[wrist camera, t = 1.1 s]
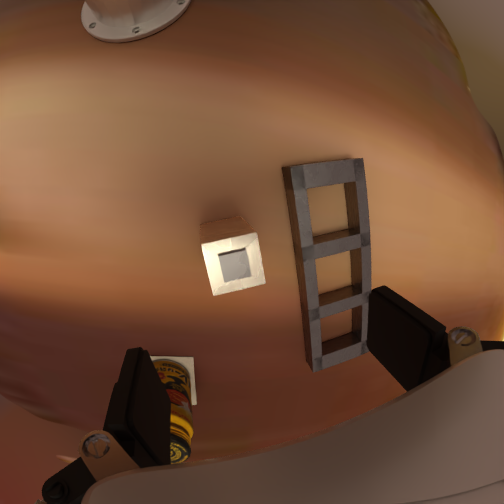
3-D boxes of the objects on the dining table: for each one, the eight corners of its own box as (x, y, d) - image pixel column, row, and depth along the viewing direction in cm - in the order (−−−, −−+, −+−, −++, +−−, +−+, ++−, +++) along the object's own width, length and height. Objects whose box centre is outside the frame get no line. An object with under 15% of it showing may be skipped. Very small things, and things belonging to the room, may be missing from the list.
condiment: (193, 355, 31) (197, 435, 19) (196, 403, 33) (203, 476, 22) (133, 354, 29) (114, 430, 18) (143, 402, 31) (135, 474, 20)
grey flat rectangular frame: (281, 167, 27) (290, 166, 24) (350, 158, 28) (362, 158, 26) (306, 361, 34) (313, 372, 32) (359, 342, 35) (368, 351, 33)
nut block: (199, 224, 27) (201, 245, 19) (239, 215, 27) (258, 233, 19) (208, 262, 28) (213, 298, 20) (246, 254, 29) (266, 285, 21)
